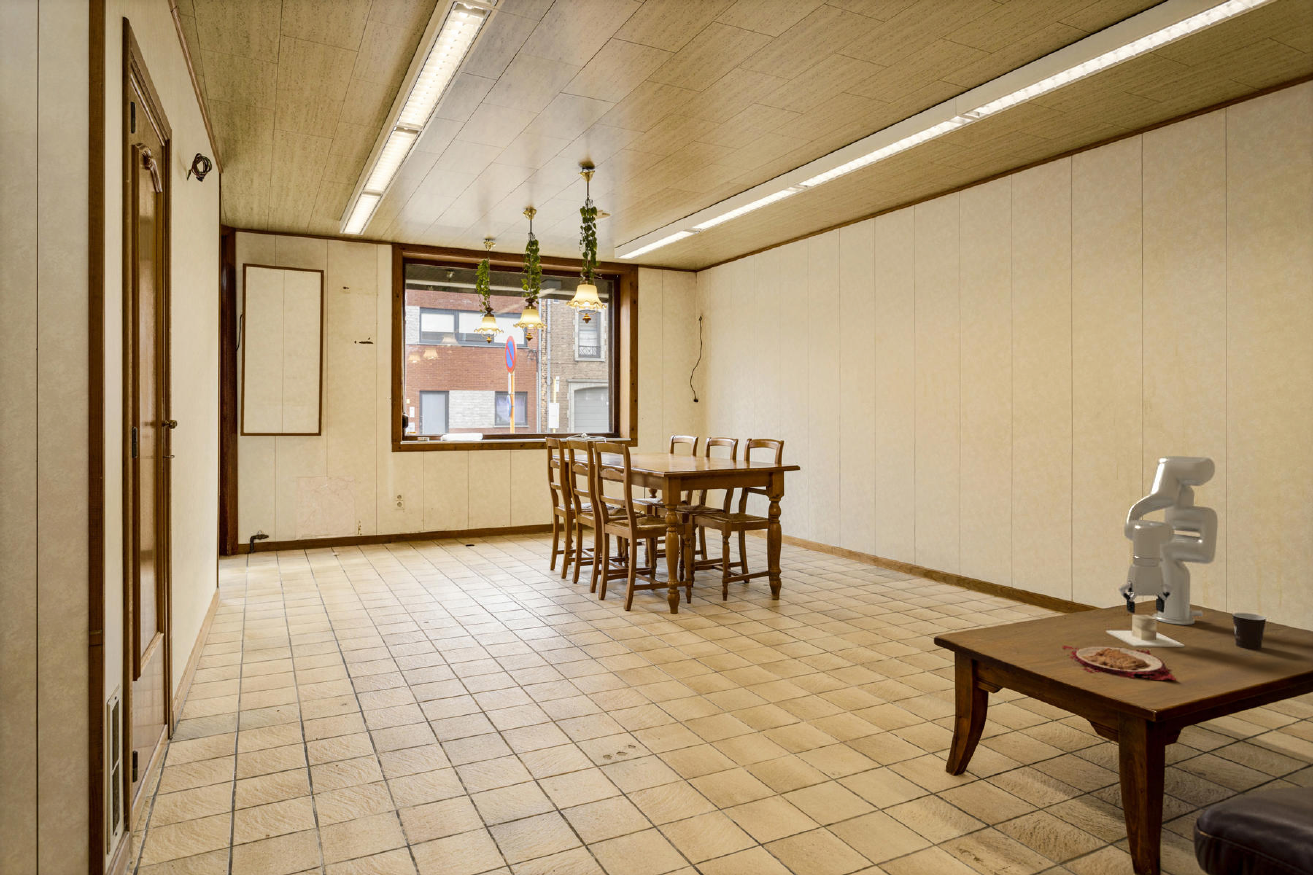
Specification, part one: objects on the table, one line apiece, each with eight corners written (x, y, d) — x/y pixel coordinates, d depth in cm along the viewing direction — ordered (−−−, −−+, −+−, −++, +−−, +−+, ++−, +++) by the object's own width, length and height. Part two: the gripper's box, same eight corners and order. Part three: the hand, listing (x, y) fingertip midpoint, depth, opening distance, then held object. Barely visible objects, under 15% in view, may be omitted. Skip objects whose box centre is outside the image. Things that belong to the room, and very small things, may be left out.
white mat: (1152, 632, 265) (1152, 630, 265) (1184, 646, 249) (1184, 644, 249) (1106, 632, 266) (1106, 630, 266) (1134, 646, 250) (1134, 644, 250)
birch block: (1146, 635, 260) (1147, 614, 260) (1156, 639, 255) (1156, 618, 255) (1131, 635, 260) (1132, 614, 260) (1141, 639, 255) (1141, 618, 255)
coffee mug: (1260, 652, 243) (1260, 621, 243) (1227, 645, 250) (1228, 615, 250) (1272, 645, 250) (1273, 615, 250) (1240, 639, 257) (1241, 609, 257)
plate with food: (1149, 656, 242) (1149, 645, 242) (1177, 683, 217) (1177, 670, 217) (1062, 650, 250) (1062, 639, 250) (1079, 675, 224) (1079, 663, 224)
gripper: (1164, 558, 260) (1164, 607, 261) (1113, 559, 261) (1113, 609, 262) (1179, 563, 253) (1178, 614, 254) (1126, 564, 253) (1126, 615, 254)
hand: (1145, 611), depth 258 cm, fingers open, 9 cm apart
